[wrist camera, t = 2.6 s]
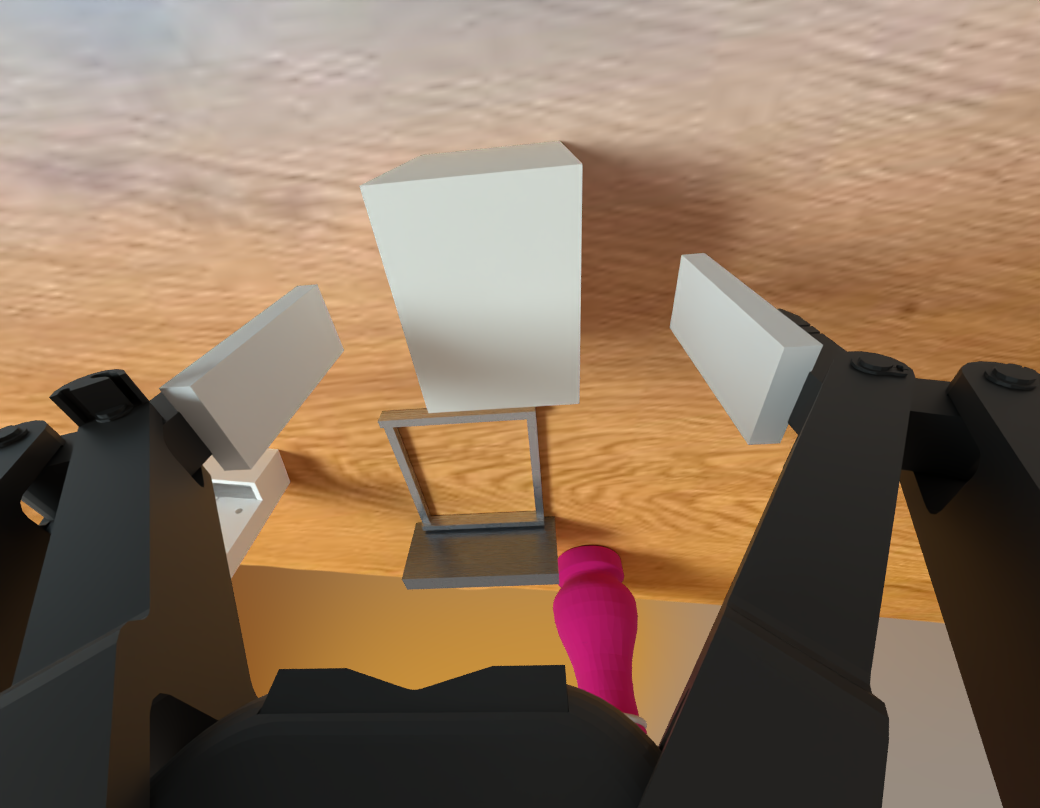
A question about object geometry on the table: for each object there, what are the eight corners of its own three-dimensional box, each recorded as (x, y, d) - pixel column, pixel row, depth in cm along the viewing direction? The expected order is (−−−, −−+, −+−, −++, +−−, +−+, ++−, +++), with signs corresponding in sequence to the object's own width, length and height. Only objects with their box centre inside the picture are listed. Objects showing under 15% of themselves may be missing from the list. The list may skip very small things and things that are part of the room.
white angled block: (335, 513, 28) (207, 616, 22) (251, 453, 32) (119, 529, 25) (326, 481, 26) (181, 586, 20) (236, 420, 29) (88, 494, 23)
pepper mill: (564, 536, 34) (599, 901, 19) (638, 548, 35) (730, 902, 20) (541, 575, 39) (553, 899, 23) (607, 585, 40) (663, 900, 24)
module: (421, 155, 17) (359, 186, 10) (559, 140, 16) (582, 164, 10) (456, 325, 22) (429, 416, 15) (562, 317, 21) (579, 406, 15)
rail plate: (369, 412, 26) (340, 468, 22) (548, 400, 25) (553, 456, 21) (420, 533, 34) (407, 589, 30) (555, 527, 33) (559, 584, 30)
